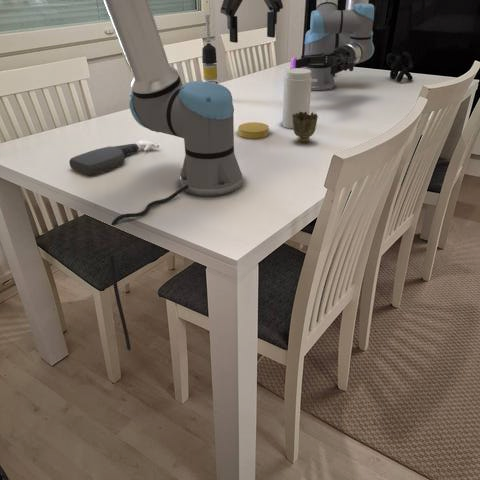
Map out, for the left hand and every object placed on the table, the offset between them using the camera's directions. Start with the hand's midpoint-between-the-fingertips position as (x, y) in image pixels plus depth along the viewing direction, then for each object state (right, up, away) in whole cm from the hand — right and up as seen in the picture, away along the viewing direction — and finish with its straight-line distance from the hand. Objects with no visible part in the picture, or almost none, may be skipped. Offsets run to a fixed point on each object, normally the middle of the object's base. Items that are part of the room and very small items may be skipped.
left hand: (252, 39), depth 127 cm
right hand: (+20, -1, +18) cm, 27 cm away
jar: (+15, -19, +22) cm, 32 cm away
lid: (+1, -22, +14) cm, 26 cm away
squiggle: (+68, +15, +73) cm, 101 cm away
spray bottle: (-38, -35, -2) cm, 52 cm away
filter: (-15, -1, +52) cm, 54 cm away
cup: (+16, -28, +8) cm, 32 cm away
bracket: (+27, +26, +92) cm, 100 cm away
